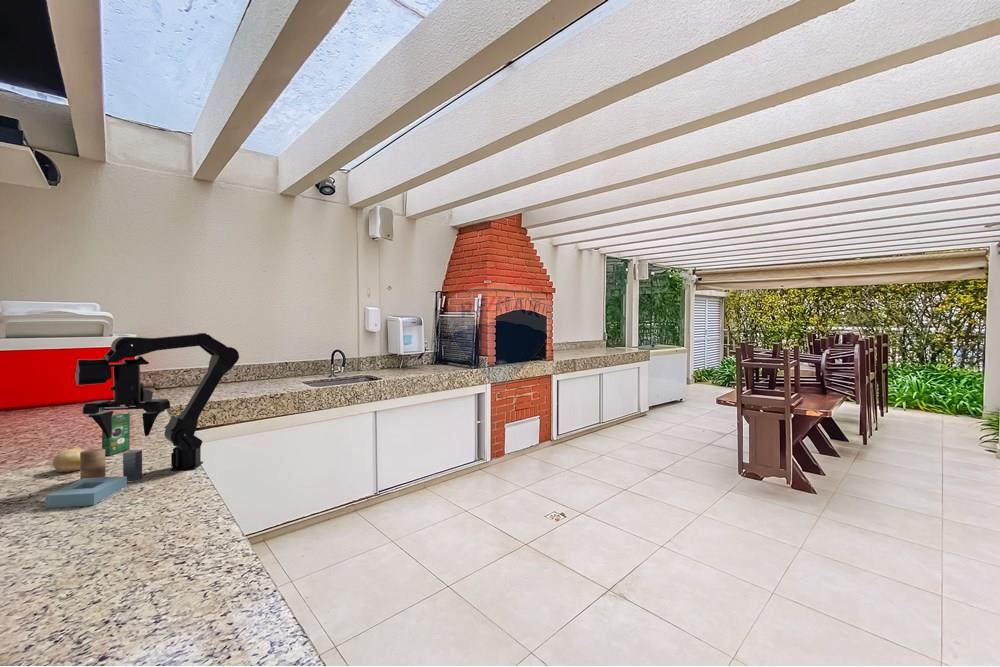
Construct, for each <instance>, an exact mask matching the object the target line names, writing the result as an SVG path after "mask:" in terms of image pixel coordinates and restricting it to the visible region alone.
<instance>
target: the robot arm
mask: <svg viewBox="0 0 1000 667" xmlns="http://www.w3.org/2000/svg"><path fill="white" fill-rule="evenodd" d="M192 347H200V348H201V349H203V351H204V352H206V353H207V354H209V355H210V358H209V362H208V368H207V371H206V373H205V375H204V376H203V378H202V380H201V381H200V382H199V384H198V386H197V388H196V390H195V391H194V393H192V396H191V398H190V399H189V401H188V403H187V405H186V406H185V408H184V409H183V411H182V412H181V413H179V414H178V416H176V415H171V417H170V419H169V422H168V423H167V425H165V426H164V429H165V430H164V436H165V438H166V441H169V442H170V443H172V445H173V446H174V447H173V448H172V452H171V453H170V454H171V455H170V456H171V457H170V459H171V460H170V462H171V463H170V464H171V465H170V466H171V467H170V468H169V471H185V470H187V471H189V470H194V469H196V468H199V466H201V465H203V464H204V461H201V460H202V458H201V455H202V453H201V450H202V449H201V448H202V444H203V440H202V439H200V438H199V437H198V436H196V435H195V432H196V431H197V428H198V421H199V418H200V416H201V414H202V412H203V410H204V408H205V407H206V405H207V403H208V401H209V400H210V398H212V395H213V393H214V392H215V390H216V388H217V387H218V384H220V382H221V379H222V378H223V377H224V376H225V375H226V374H227V373H228V372H229V371H231V370H232V368H233V367H234V366H235V365H236V363H237V362H239V359H240V353H239V351H238V350H237V349H236V348H234V347H232V346H227V345H226V344H224V343H222V342H221V341H219V340H218V339H215V338H214V337H213V336H211V335H210V334H209V333H205V332H198V333H193V334H192V333H191V334H182V335H173V336H172V335H171V336H162V337H141V336H140V337H138V336H137V337H135V336H120V337H116V338H115V339H114V340H113V341H112V342H111V345H110V349H109V351H108V352H106V354H104V356H103V357H102V358H97V359H86V358H83V359H77V360H76V364H77V365H76V368H75V369H76V371H75V373H74V374H75V383H76V386H85V385H86V386H88V385H99V384H107V381H110V380H112V375H113V386H110V391H113V401H111V400H107V399H106V400H95V401H90V402H87V403H85V404H84V405H83V406H82V415H88V416H87V417H88V418H91V419H93V420H94V421H95V423H96V424H97V425H98V426H99V428H100V429H101V430H102V431H103V432H104V433H105V435H106V436H107V438H110V437H112V422H111V417H112V415H114V411H116V410H118V411H120V410H121V411H122V410H123V411H124V410H143V411H145V412H143V413H142V415H141V416H142V423H143V424H142V426H143V432H144V436H145V437H148V436H149V435H150V433H151V431H152V429H153V425H154V424H155V421H156V419H157V417H158V416H159V415H160V414H161V413H163V412H165V411H166V410H168V409H170V408H171V402H170V400H169V399H168V398H154V399H153V395H154V391H152V390H149V389H145V386H144V383H141V366H143V365H149V364H150V362H149V361H148V360H146V358H144V357H143V355H146V354H149V353H152V352H156V351H165V350H172V349H180V348H181V349H182V348H184V349H185V348H192ZM135 357H136V358H135ZM131 358H132V359H131ZM120 361H122V362H120ZM119 362H120V363H119ZM112 368H113V370H112ZM112 371H113V373H112ZM102 431H101V432H102ZM200 464H201V465H200Z"/></svg>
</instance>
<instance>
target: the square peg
mask: <svg viewBox="0 0 1000 667" xmlns="http://www.w3.org/2000/svg"><path fill="white" fill-rule="evenodd" d="M122 462H123V463H122V470H123V471H122V474H123V475H122V476H127V481H136V482H137V480H138V481H139V479H140V478H141V479H143V450H142V449H138V450H137V449H136V450H135V449H134V450H130V449H129V450H127V451H124V452H122ZM141 479H140V480H141Z"/></svg>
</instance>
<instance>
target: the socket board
mask: <svg viewBox="0 0 1000 667" xmlns="http://www.w3.org/2000/svg"><path fill="white" fill-rule="evenodd" d="M126 486H127V487H128V482H127V476H123V475H122V476H106V477H99V478H83V479H81V480H80V479H79V480H77V481H74V482H72V483H70V484H68V485H66V486H64V487H61V488H60V489H57V490H55V491H53V492H50V493H49V494H46V495H45V508H46V509H53V508H55V507H58V508H70V507H69V506H76V507H89V506H88V505H94V506H96V505H97V503H98V502H100V501H101V500H103V499H105V498H107V497H108V496H110V495H112V494H113V493H115V492H117V491H119V490H121V489H122V488H124V487H126ZM121 491H122V490H121ZM112 496H113V495H112ZM107 499H108V498H107ZM105 500H106V499H105ZM103 501H104V500H103ZM100 503H101V502H100ZM95 504H96V505H95ZM98 504H99V503H98ZM55 509H56V508H55Z"/></svg>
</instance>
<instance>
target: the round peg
mask: <svg viewBox="0 0 1000 667" xmlns="http://www.w3.org/2000/svg"><path fill="white" fill-rule="evenodd" d="M106 469H107V468H106V456H105V449H102V448H94V449H92V448H91V449H87V450H84V451H83V452H81V453H80V470H79V471H80V472H79V474H80V476H79V477H80V479H79V480H81V479H83V478H99V477H107V475H106Z"/></svg>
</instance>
